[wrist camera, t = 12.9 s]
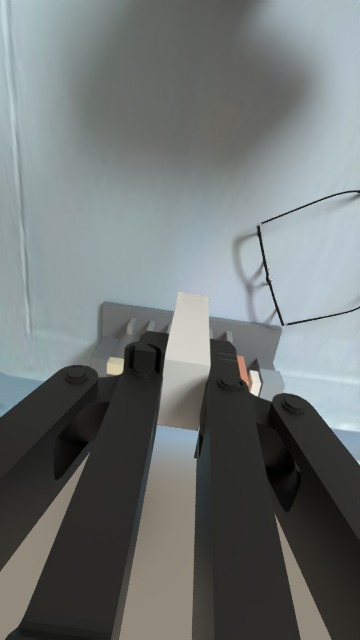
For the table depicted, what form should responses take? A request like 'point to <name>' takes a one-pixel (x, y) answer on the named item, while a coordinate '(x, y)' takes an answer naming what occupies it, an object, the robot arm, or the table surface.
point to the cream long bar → (258, 383)
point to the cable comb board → (134, 321)
